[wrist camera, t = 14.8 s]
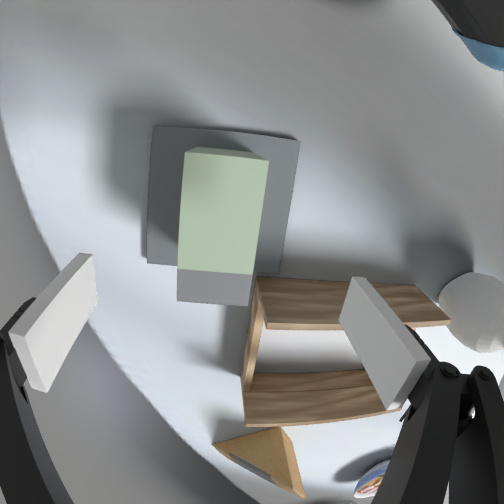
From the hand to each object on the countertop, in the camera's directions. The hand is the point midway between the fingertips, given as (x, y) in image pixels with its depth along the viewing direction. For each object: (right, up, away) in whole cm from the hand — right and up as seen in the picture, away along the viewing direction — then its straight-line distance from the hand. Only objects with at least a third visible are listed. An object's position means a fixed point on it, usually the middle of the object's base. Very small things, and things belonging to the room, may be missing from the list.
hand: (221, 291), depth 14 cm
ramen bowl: (+42, -65, +54) cm, 94 cm away
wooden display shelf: (+13, -10, +28) cm, 33 cm away
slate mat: (-2, +8, +19) cm, 21 cm away
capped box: (-2, +7, +18) cm, 20 cm away
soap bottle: (+37, -4, +28) cm, 47 cm away
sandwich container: (+1, -38, +39) cm, 54 cm away
